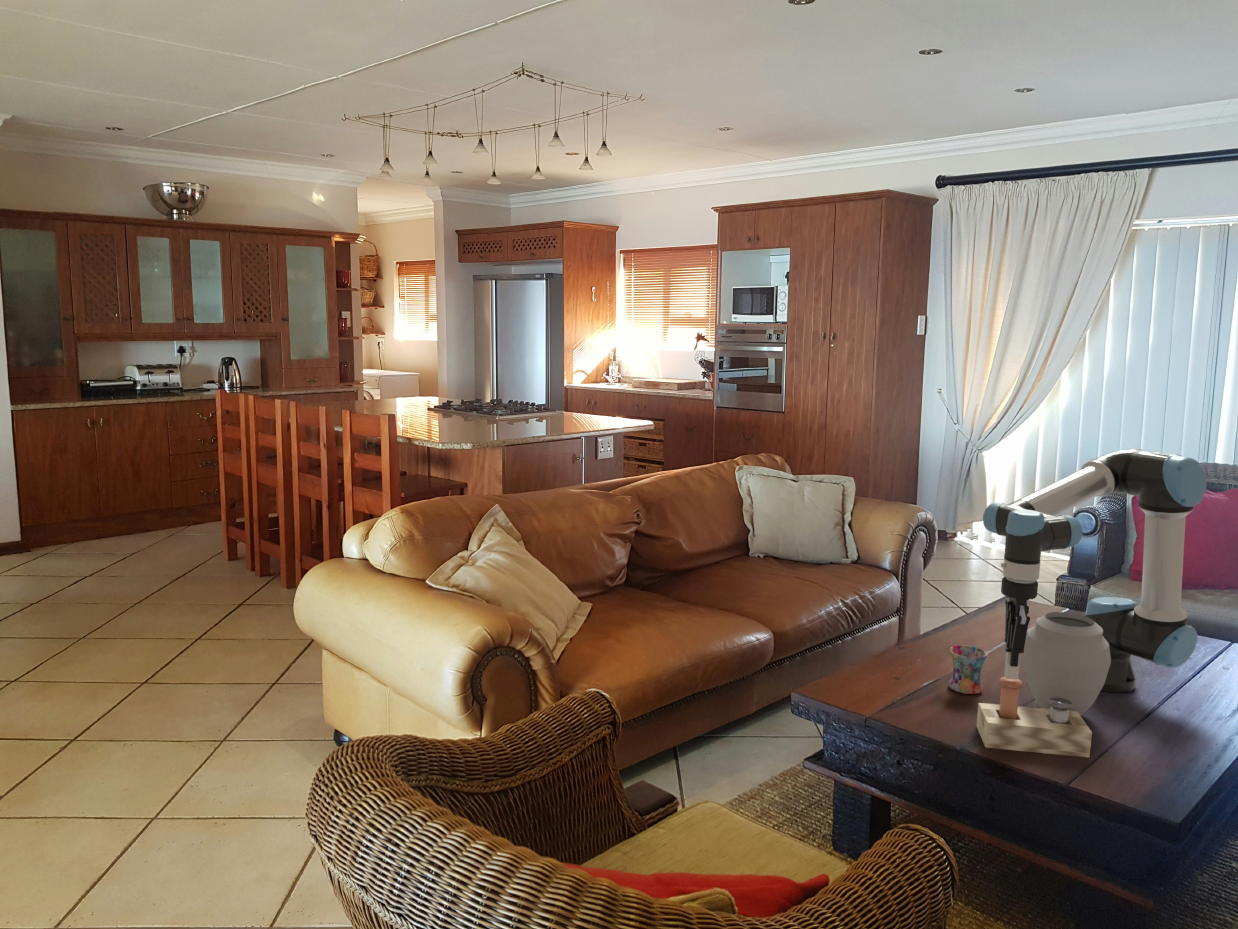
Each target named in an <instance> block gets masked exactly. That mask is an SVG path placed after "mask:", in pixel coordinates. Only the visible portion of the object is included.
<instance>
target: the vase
mask: <svg viewBox="0 0 1238 929" xmlns="http://www.w3.org/2000/svg"><path fill="white" fill-rule="evenodd" d="M1102 635H1103V629H1102V628H1101V627H1100V626H1099V625H1098V624H1097V623H1095V622H1094V621H1093V620H1092V619H1090V618H1088V617H1085V615H1082V614H1078V613H1074V612H1066V611H1065V612H1064V611H1063V612H1062V611H1054V612H1053V611H1052V612H1047V613H1046V614H1043V615H1042V616H1040V617H1037V618H1036V619H1035V625H1034V626H1032V628H1030V629H1029V630H1027V635H1026V641H1025V646H1024V652H1023V663H1024V671H1025V676H1026V679H1027V682H1028V686H1029V689H1030V692H1031V694H1032V696H1033V698H1034V701H1035V702H1036V705H1037V706H1038V708H1043V709H1051V706H1050V705H1049V699H1050V698H1055V697H1056V698H1063V699H1066V700H1069V701H1070V702H1072V708H1071V709H1069V711H1076V712H1078V713H1079V714H1080V716H1081V717H1082V715H1083V714H1085V713H1086V712H1087V711H1088V710H1089V708H1091V707H1092V705H1094V703H1095V702H1096V700H1097V698H1098V696H1099V694H1100V693H1101V689H1102V687H1103V686H1104V683H1105V680H1106V677H1107V673H1108V670H1109V667H1110V663H1111V656H1110V649H1109V644H1108V642H1107V641H1106V640H1105V638H1104V637H1103V636H1102Z"/></svg>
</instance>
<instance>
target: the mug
mask: <svg viewBox="0 0 1238 929" xmlns="http://www.w3.org/2000/svg"><path fill="white" fill-rule="evenodd" d="M948 650H949V653H950V655H951V660H952V665H953V666H952V673H951V674H952V675H951V677H950V680H949V682H948V684H947V685H948V686H949V688H950V689H951V690H953V691H955V692H957V693H961V694H965V695H977V694H980V693H981V692H982V691H983V690H984V688H983V685H982V681H981V671H982V667H983V664H984V662H985V661H986V658H987V657H988V653H987V651H985V649H982V648H980V647H977V646H973V645H966V644H962V645H961V644H958V645H957V644H956V645H953V646H951V647H949V649H948Z"/></svg>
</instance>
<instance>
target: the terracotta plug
mask: <svg viewBox="0 0 1238 929" xmlns="http://www.w3.org/2000/svg"><path fill="white" fill-rule="evenodd" d="M999 685H1000V687H1001V688H1000V698H999V705H1000V709H999V717H1001V718H1004V719H1015V720H1016V719H1017V710H1018V706H1019V697H1020V688H1022V687H1023V681H1022V680H1021V679H1019V678H1018V679H1006V678H1005V676H1002V677H1000V678H999Z"/></svg>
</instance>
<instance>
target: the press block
mask: <svg viewBox="0 0 1238 929" xmlns="http://www.w3.org/2000/svg"><path fill="white" fill-rule="evenodd" d="M999 709H1000V704H996V703H986V702H985V703H984V702H983V703H982V702H978V704H977V714H976V715H977V716H976V729H977V731H978V733H979V736H980V737H981V740H982V742H983V743H982V744H983V745H984V747H985V748H988V749H996V750H1009V751H1017V752H1018V751H1019V752H1028V753H1039V754H1040V753H1041V754H1048V755H1049V754H1050V755H1056V756H1057V755H1059V756H1069V757H1078V758H1079V757H1080V758H1090V755H1091V746H1092V736H1093V732H1092V730H1091V729H1090V727H1089V726H1088V725H1087V723H1086V722H1085V720H1084V718H1083V717H1082V715H1081V716H1080V714H1079V713H1078V712H1076V711H1069V716H1068V724H1059V723H1051V722H1050V721H1049V720H1050V710H1051V709H1043V708H1040V707H1029V706H1021V705H1020V706H1019V705H1018V710H1017V719H1016V720H1015V719H1004V718H1001V717H999Z"/></svg>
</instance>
